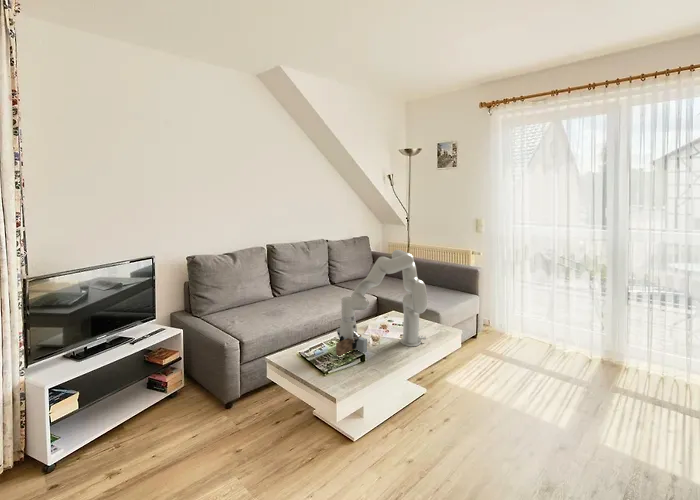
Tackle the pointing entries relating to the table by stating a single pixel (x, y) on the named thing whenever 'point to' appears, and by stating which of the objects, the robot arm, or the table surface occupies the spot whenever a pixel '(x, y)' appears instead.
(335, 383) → the table surface
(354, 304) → the robot arm
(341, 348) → the brown wooden board
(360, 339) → the grey u-shaped block
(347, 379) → the table surface
